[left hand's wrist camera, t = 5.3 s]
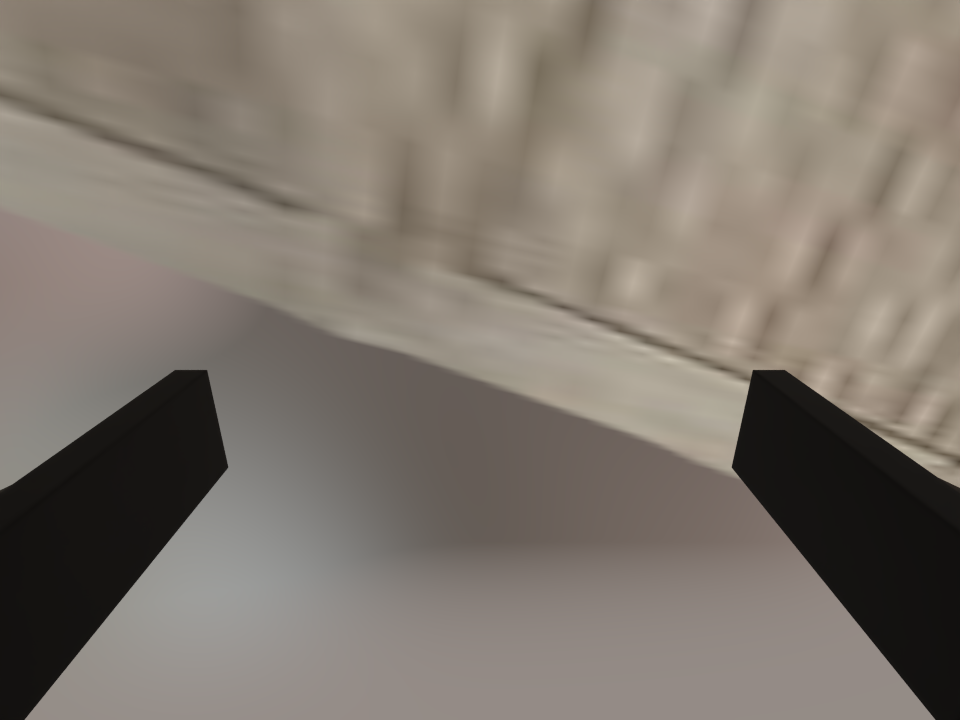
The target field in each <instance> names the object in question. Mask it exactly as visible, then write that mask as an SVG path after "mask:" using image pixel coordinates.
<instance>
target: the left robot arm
mask: <svg viewBox="0 0 960 720" xmlns="http://www.w3.org/2000/svg"><path fill="white" fill-rule="evenodd" d="M227 468H228V464H227V459H226V455H225V450H224V446H223V441H222V436H221V432H220V427H219V423H218V418H217V414H216V409H215V404H214V400H213V395H212V391H211V386H210V382H209V377H208V372H207V370H175V371H173V372H172V373H170V374H169V375H168V376H166V377H165V378H163V379H162V380H160V381H159V382H158V383H156V384H155V385H153V386H152V387H150V388H149V389H148V390H146V391H145V392H143V393H142V394H140V395H139V396H138V397H136V398H135V399H133V400H132V401H131V402H129V403H128V404H126V405H125V406H123V407H122V408H121V409H119V410H118V411H116V412H115V413H113V414H112V415H111V416H109V417H108V418H106V419H105V420H104V421H102V422H101V423H99V424H98V425H96V426H95V427H94V428H92V429H91V430H89V431H88V432H86V433H85V434H84V435H82V436H81V437H79V438H78V439H77V440H75V441H74V442H72V443H71V444H69V445H68V446H67V447H65V448H64V449H62V450H61V451H59V452H58V453H57V454H55V455H54V456H52V457H51V458H49V459H48V460H47V461H45V462H44V463H42V464H41V465H40V466H38V467H37V468H35V469H34V470H32V471H31V472H30V473H28V474H27V475H25V476H24V477H22V478H21V479H20V480H18V481H17V482H15V483H14V484H12V485H10V486H8V487H6V488H4V489H2V490H0V720H25V718H26V717H27V716H28V715H29V713H30V712H31V711H32V710H33V708H34V707H35V706H36V705H37V704H38V702H39V701H40V700H41V699H42V697H43V696H44V695H45V694H46V692H47V691H48V690H49V689H50V687H51V686H52V685H53V684H54V682H55V681H56V680H57V679H58V678H59V676H60V675H61V674H62V673H63V671H64V670H65V669H66V668H67V666H68V665H69V664H70V663H71V661H72V660H73V659H74V658H75V657H76V655H77V654H78V653H79V652H80V650H81V649H82V648H83V647H84V645H85V644H86V643H87V642H88V640H89V639H90V638H91V637H92V635H93V634H94V633H95V632H96V631H97V629H98V628H99V627H100V626H101V624H102V623H103V622H104V621H105V619H106V618H107V617H108V616H109V614H110V613H111V612H112V611H113V609H114V608H115V607H116V606H117V604H118V603H119V602H120V601H121V600H122V598H123V597H124V596H125V595H126V593H127V592H128V591H129V590H130V588H131V587H132V586H133V585H134V583H135V582H136V581H137V580H138V579H139V577H140V576H141V575H142V574H143V572H144V571H145V570H146V569H147V567H148V566H149V565H150V564H151V562H152V561H153V560H154V559H155V557H156V556H157V555H158V554H159V552H160V551H161V550H162V549H163V548H164V546H165V545H166V544H167V543H168V541H169V540H170V539H171V538H172V536H173V535H174V534H175V533H176V532H177V530H178V529H179V528H180V527H181V525H182V524H183V523H184V522H185V520H186V519H187V518H188V517H189V515H190V514H191V513H192V512H193V510H194V509H195V508H196V507H197V505H198V504H199V503H200V502H201V501H202V499H203V498H204V497H205V496H206V494H207V493H208V492H209V491H210V489H211V488H212V487H213V486H214V484H215V483H216V482H217V481H218V480H219V478H220V477H221V476H222V475H223V473H224V472H225V471H226V470H227ZM732 468H733V470H734V471H735V472H736V473H737V475H738V476H739V477H740V478H741V480H742V481H743V482H744V483H745V484H746V486H747V487H748V488H749V489H750V491H751V492H752V493H753V494H754V496H755V497H756V498H757V499H758V501H759V502H760V503H761V504H762V505H763V507H764V508H765V509H766V510H767V512H768V513H769V514H770V515H771V517H772V518H773V519H774V520H775V522H776V523H777V524H778V525H779V527H780V528H781V529H782V530H783V531H784V533H785V534H786V535H787V536H788V538H789V539H790V540H791V541H792V543H793V544H794V545H795V546H796V548H797V549H798V550H799V551H800V552H801V554H802V555H803V556H804V557H805V559H806V560H807V561H808V562H809V564H810V565H811V566H812V567H813V569H814V570H815V571H816V572H817V574H818V575H819V576H820V577H821V579H822V580H823V581H824V582H825V583H826V585H827V586H828V587H829V588H830V590H831V591H832V592H833V593H834V595H835V596H836V597H837V598H838V600H839V601H840V602H841V603H842V604H843V606H844V607H845V608H846V609H847V611H848V612H849V613H850V614H851V616H852V617H853V618H854V619H855V621H856V622H857V623H858V624H859V625H860V627H861V628H862V629H863V631H864V632H865V633H866V634H867V635H868V637H869V638H870V639H871V640H872V642H873V643H874V644H875V645H876V647H877V648H878V649H879V650H880V652H881V653H882V654H883V655H884V657H885V658H886V659H887V660H888V661H889V663H890V664H891V665H892V666H893V668H894V669H895V670H896V671H897V673H898V674H899V675H900V676H901V678H902V679H903V680H904V681H905V683H906V684H907V685H908V686H909V687H910V689H911V690H912V691H913V692H914V694H915V695H916V696H917V697H918V699H919V700H920V701H921V702H922V704H923V705H924V706H925V707H926V709H927V710H928V711H929V712H930V713H931V715H932V716H933V717H934V718H935V720H960V488H959V487H957V486H954V485H952V484H950V483H948V482H946V481H944V480H942V479H940V478H938V477H936V476H935V475H933V474H932V473H930V472H929V471H928V470H926V469H925V468H923V467H922V466H921V465H919V464H918V463H916V462H915V461H913V460H912V459H911V458H909V457H908V456H906V455H905V454H903V453H902V452H901V451H899V450H898V449H896V448H895V447H894V446H892V445H891V444H889V443H888V442H886V441H885V440H884V439H882V438H881V437H879V436H878V435H876V434H875V433H874V432H872V431H871V430H869V429H868V428H866V427H865V426H864V425H862V424H861V423H859V422H858V421H857V420H855V419H854V418H852V417H851V416H849V415H848V414H847V413H845V412H844V411H842V410H841V409H839V408H838V407H837V406H835V405H834V404H832V403H831V402H829V401H828V400H827V399H825V398H824V397H822V396H821V395H820V394H818V393H817V392H815V391H814V390H812V389H811V388H810V387H808V386H807V385H805V384H804V383H802V382H801V381H800V380H798V379H797V378H795V377H794V376H792V375H791V374H790V373H788V372H787V371H785V370H753V372H752V377H751V381H750V386H749V391H748V395H747V400H746V404H745V409H744V414H743V418H742V423H741V427H740V432H739V436H738V441H737V446H736V450H735V455H734V459H733V464H732Z"/></svg>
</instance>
